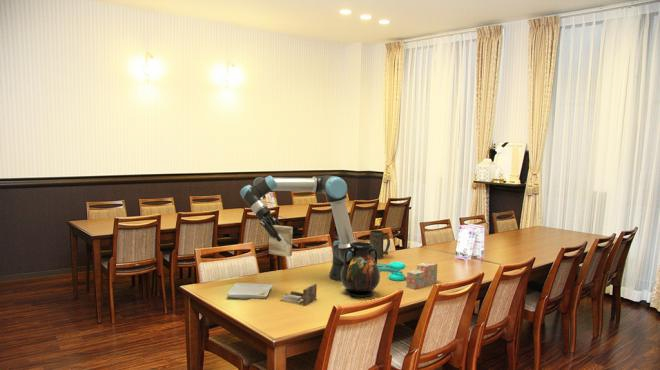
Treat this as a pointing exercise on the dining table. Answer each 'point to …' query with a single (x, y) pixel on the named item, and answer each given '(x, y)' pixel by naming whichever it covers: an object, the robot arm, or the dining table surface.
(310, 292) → the walnut rack
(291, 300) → the offcut stack
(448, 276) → the dining table surface
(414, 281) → the stack of blocks
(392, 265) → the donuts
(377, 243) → the beer stein
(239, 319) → the dining table surface
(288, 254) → the birch board
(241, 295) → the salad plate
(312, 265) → the dining table surface
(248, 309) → the dining table surface
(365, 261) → the amphora vase
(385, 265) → the alien figure
